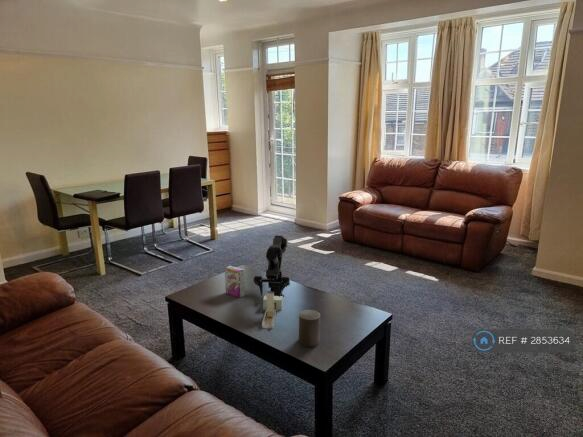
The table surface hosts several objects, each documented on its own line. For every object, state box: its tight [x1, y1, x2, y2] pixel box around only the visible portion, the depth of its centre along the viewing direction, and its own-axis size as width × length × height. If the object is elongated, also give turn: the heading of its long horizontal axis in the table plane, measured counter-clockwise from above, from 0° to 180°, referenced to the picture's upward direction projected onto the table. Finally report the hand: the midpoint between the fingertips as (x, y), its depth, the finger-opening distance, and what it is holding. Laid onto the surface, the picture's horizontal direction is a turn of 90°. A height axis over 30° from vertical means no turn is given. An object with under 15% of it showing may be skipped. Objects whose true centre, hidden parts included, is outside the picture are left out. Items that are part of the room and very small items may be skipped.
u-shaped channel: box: [261, 309, 277, 330], centre depth 207 cm, size 14×5×3 cm, turn 175°
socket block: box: [262, 295, 284, 311], centre depth 220 cm, size 5×10×6 cm, turn 85°
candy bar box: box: [224, 265, 246, 298], centre depth 236 cm, size 11×5×16 cm, turn 58°
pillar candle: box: [298, 309, 321, 348], centre depth 187 cm, size 10×10×15 cm
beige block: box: [265, 290, 276, 317], centre depth 214 cm, size 12×4×13 cm, turn 175°
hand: (270, 296), depth 210 cm, fingers open, 9 cm apart
